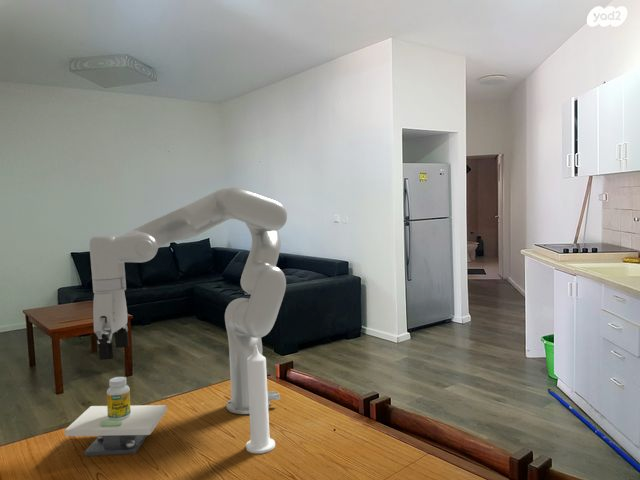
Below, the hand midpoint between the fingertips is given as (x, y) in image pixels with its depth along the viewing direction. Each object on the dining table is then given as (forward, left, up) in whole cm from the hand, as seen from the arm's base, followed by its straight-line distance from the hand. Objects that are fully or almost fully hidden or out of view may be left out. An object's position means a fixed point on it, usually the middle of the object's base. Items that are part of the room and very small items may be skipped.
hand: (114, 352), depth 123 cm
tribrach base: (0, 0, -23) cm, 23 cm away
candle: (-36, +6, -23) cm, 43 cm away
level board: (0, 0, -18) cm, 18 cm away
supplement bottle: (0, 0, -17) cm, 17 cm away
